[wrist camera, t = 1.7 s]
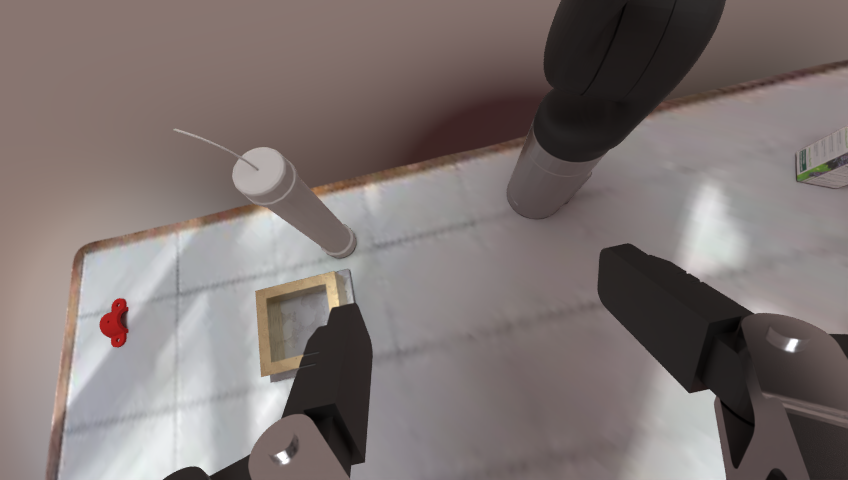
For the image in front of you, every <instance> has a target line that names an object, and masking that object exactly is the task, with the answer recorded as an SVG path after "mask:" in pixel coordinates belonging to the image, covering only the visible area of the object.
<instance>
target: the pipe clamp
mask: <svg viewBox="0 0 848 480" xmlns="http://www.w3.org/2000/svg"><path fill="white" fill-rule="evenodd" d="M119 304H120V306H119V307H118V305H119ZM125 311H128V307H126V300H125V299H121V298H119V299H116V300H115V301H114V302H113V304H112V312H110V313H107V314H105V315H104V316H103V317H102V318H101V320H100V330H101V332H102V333H103V334H104V335H105V336H107V337H109V338H111V344H112V346H113V347H121V346H122V345H124V343H125V342H126V333H128V329H126V328H125V327H123V325H122V324H121V321H120V318H121V315H122V313H123V312H125ZM118 339H120V340H119V342H118Z"/></svg>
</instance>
